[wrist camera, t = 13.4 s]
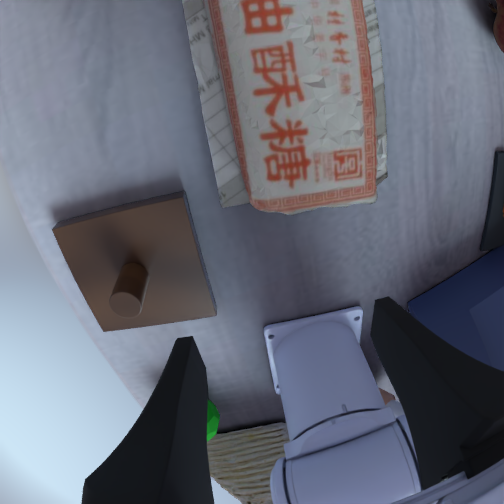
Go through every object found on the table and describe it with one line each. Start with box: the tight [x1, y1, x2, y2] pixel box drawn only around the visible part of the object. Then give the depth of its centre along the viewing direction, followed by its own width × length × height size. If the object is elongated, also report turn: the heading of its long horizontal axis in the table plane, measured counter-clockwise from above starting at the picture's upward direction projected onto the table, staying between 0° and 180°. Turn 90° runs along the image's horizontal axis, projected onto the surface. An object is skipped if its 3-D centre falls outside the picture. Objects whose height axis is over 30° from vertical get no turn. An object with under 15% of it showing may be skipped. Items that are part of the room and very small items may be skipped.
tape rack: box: [52, 191, 217, 332], centre depth 19 cm, size 9×9×4 cm
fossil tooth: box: [207, 422, 290, 504], centre depth 30 cm, size 12×6×15 cm
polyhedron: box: [207, 400, 220, 442], centre depth 27 cm, size 5×5×5 cm
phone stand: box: [408, 245, 504, 371], centre depth 22 cm, size 12×12×12 cm
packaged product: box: [182, 0, 388, 215], centre depth 12 cm, size 18×5×10 cm
